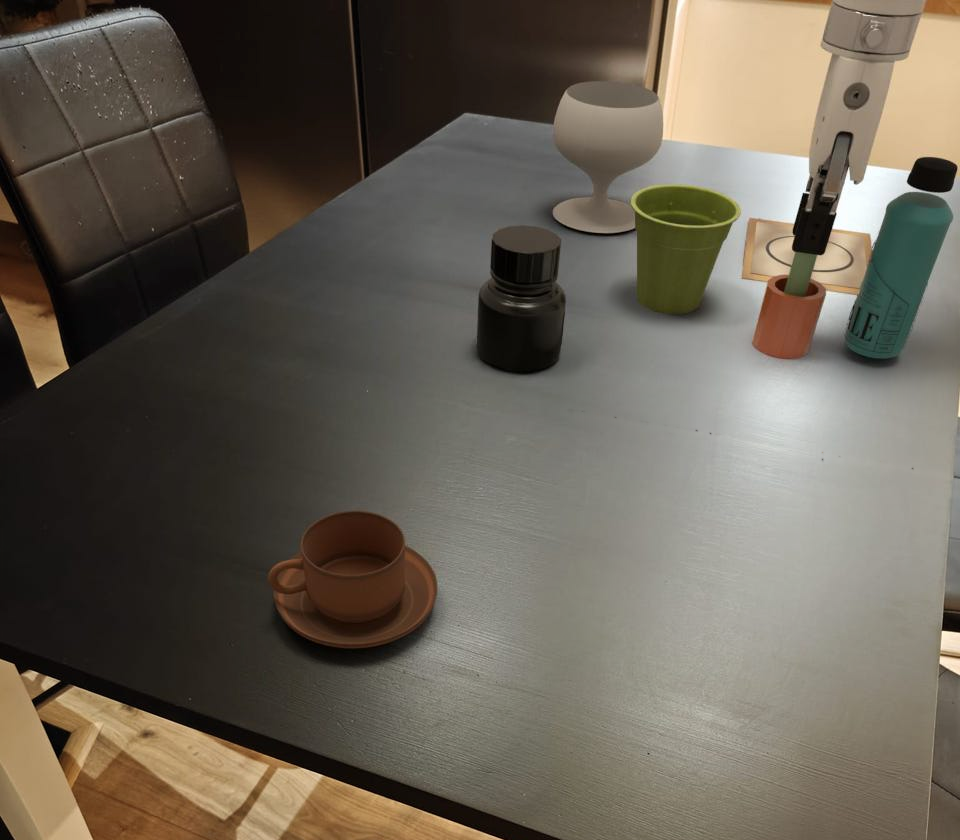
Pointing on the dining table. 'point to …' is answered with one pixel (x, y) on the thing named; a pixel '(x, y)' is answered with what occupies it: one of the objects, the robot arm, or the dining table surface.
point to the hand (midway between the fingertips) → (807, 242)
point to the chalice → (605, 147)
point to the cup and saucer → (354, 582)
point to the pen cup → (787, 319)
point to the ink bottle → (522, 300)
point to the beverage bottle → (902, 262)
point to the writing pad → (832, 269)
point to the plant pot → (678, 243)
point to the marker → (800, 274)
